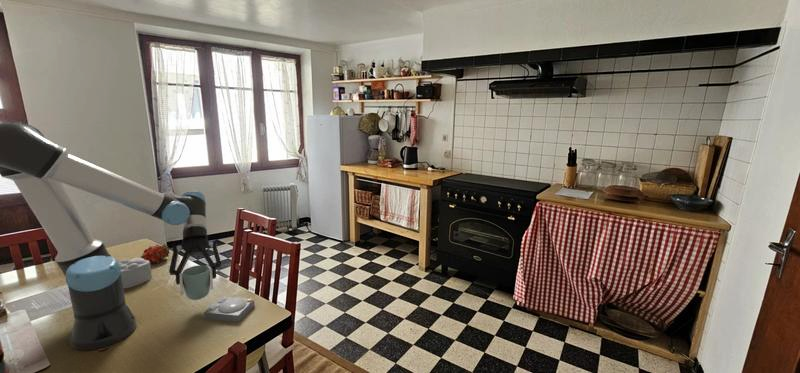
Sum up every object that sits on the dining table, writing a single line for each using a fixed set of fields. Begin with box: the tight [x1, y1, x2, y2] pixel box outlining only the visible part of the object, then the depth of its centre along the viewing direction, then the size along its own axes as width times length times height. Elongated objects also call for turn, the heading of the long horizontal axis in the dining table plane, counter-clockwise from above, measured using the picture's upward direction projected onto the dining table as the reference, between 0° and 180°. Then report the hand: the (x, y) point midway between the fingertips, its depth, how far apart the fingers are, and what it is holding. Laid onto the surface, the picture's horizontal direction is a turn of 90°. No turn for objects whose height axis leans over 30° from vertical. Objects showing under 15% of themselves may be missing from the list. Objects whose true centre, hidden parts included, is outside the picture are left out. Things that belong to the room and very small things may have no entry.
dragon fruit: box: [140, 244, 171, 264], centre depth 152 cm, size 8×8×12 cm
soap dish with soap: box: [203, 296, 255, 323], centre depth 115 cm, size 10×12×3 cm
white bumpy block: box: [118, 257, 153, 290], centre depth 133 cm, size 10×13×9 cm
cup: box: [182, 264, 211, 301], centre depth 115 cm, size 8×8×10 cm
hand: (197, 290), depth 112 cm, fingers closed on cup, 8 cm apart
